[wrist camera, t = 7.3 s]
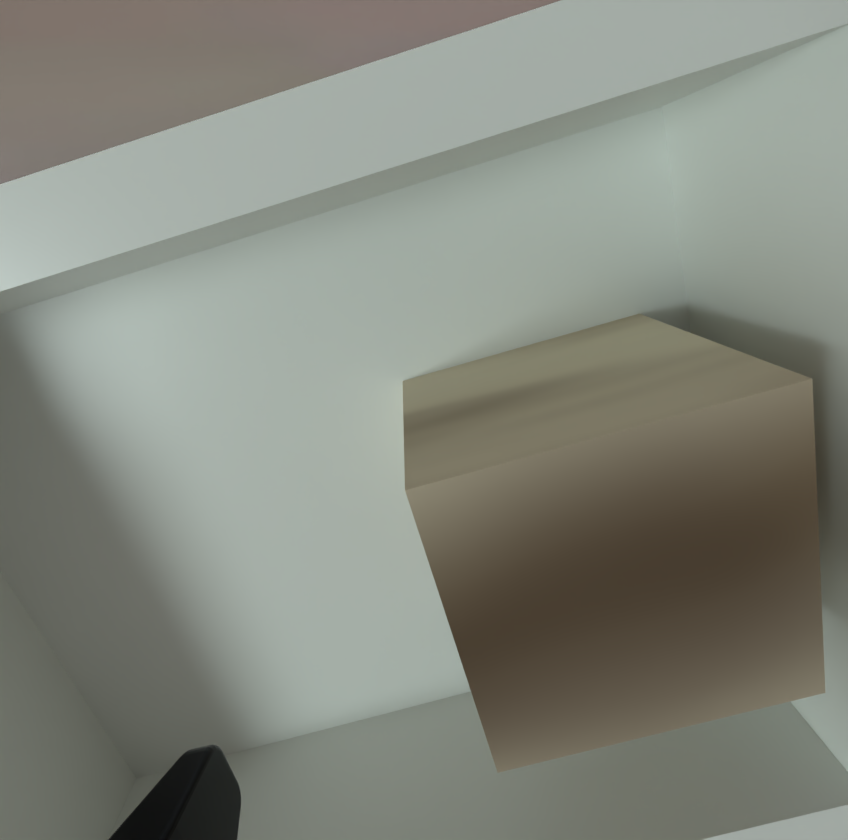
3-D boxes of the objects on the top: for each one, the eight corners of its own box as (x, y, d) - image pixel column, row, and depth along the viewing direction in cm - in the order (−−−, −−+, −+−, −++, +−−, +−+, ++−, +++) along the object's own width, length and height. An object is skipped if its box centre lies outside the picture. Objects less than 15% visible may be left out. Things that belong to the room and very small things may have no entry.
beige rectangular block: (670, 521, 13) (825, 692, 8) (462, 576, 13) (497, 772, 8) (639, 313, 11) (812, 378, 7) (402, 380, 12) (405, 490, 7)
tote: (757, 631, 15) (926, 823, 10) (127, 794, 16) (11, 1038, 11) (696, 34, 10) (957, -130, 5) (-194, 319, 11) (-631, 391, 6)
